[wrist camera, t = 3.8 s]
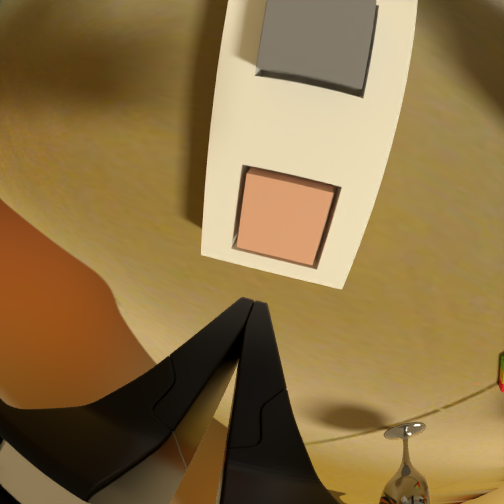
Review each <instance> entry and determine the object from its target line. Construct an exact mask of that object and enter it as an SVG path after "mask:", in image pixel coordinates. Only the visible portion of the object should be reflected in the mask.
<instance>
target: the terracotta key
mask: <svg viewBox="0 0 504 504" xmlns="http://www.w3.org/2000/svg"><path fill="white" fill-rule="evenodd" d="M333 194H334V192H333V185H332V184H328V183H324V182H320V181H316V180H312V179H308V178H304V177H300V176H295V175H291V174H286V173H282V172H277V171H273V170H268V169H263V168H258V167H252V168H251V169H250V170H249V171H248V172H247V174H246V181H245V189H244V196H243V203H242V210H241V218H240V225H239V233H238V240H237V247H239V248H243V249H247V250H251V251H255V252H259V253H263V254H268V255H272V256H276V257H280V258H284V259H288V260H292V261H296V262H300V263H305V264H309V265H313V262H314V259H315V256H316V252H317V249H318V246H319V243H320V239H321V236H322V232H323V229H324V226H325V222H326V219H327V215H328V212H329V208H330V204H331V201H332V197H333Z"/></svg>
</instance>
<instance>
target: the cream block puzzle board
mask: <svg viewBox="0 0 504 504" xmlns="http://www.w3.org/2000/svg"><path fill="white" fill-rule="evenodd" d="M417 2H418V0H376V8H375V16H374V23H373V30H372V36H371V43H370V49H369V55H368V60H367V66H366V71H365V77H364V82H363V87H362V89H357V90H355V89H351V88H348V87H344V86H340V85H336V84H332V83H328V82H323V81H319V80H314V79H310V78H305V77H299V76H294V75H288V74H282V73H276V72H269V71H264V70H262V69H259V68H257V67H256V66H257V60H258V53H259V47H260V41H261V35H262V29H263V23H264V17H265V11H266V5H267V0H229V1H228V6H227V12H226V17H225V23H224V29H223V36H222V42H221V49H220V55H219V62H218V70H217V77H216V85H215V93H214V101H213V109H212V118H211V127H210V137H209V147H208V158H207V170H206V182H205V195H204V209H203V225H202V243H201V255H204V256H208V257H212V258H215V259H219V260H223V261H227V262H231V263H235V264H239V265H243V266H247V267H251V268H255V269H259V270H263V271H267V272H271V273H275V274H279V275H284V276H288V277H292V278H296V279H300V280H304V281H308V282H312V283H317V284H321V285H325V286H329V287H333V288H338V289H342V288H343V285H344V283H345V281H346V278H347V276H348V273H349V271H350V268H351V266H352V263H353V261H354V258H355V256H356V253H357V250H358V248H359V245H360V242H361V240H362V237H363V234H364V231H365V229H366V226H367V223H368V220H369V217H370V214H371V211H372V208H373V205H374V202H375V199H376V196H377V193H378V190H379V187H380V184H381V180H382V177H383V174H384V170H385V167H386V163H387V160H388V156H389V153H390V149H391V146H392V142H393V138H394V134H395V130H396V126H397V122H398V118H399V114H400V109H401V105H402V100H403V96H404V91H405V86H406V81H407V75H408V70H409V64H410V58H411V52H412V46H413V38H414V31H415V23H416V13H417ZM252 167H258V168H263V169H268V170H273V171H277V172H282V173H286V174H291V175H295V176H300V177H304V178H308V179H312V180H316V181H320V182H324V183H328V184H332V185H333V192H334V194H333V197H332V201H331V204H330V208H329V212H328V215H327V219H326V222H325V226H324V229H323V232H322V236H321V239H320V243H319V246H318V249H317V252H316V256H315V259H314V262H313V265H309V264H305V263H300V262H296V261H292V260H288V259H284V258H280V257H276V256H272V255H268V254H263V253H259V252H255V251H251V250H247V249H243V248H239V247H237V240H238V233H239V225H240V218H241V210H242V203H243V196H244V189H245V181H246V174H247V172H248V171H249V170H250V169H251V168H252Z"/></svg>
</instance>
